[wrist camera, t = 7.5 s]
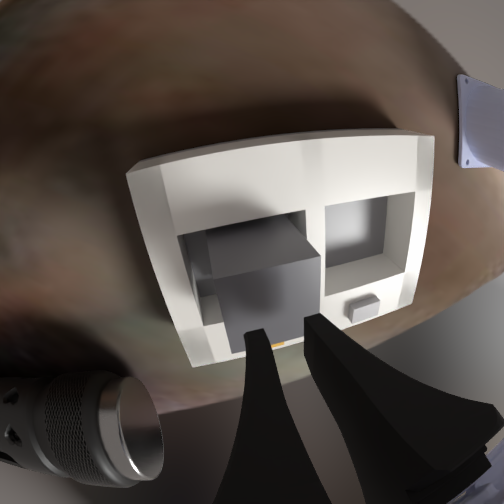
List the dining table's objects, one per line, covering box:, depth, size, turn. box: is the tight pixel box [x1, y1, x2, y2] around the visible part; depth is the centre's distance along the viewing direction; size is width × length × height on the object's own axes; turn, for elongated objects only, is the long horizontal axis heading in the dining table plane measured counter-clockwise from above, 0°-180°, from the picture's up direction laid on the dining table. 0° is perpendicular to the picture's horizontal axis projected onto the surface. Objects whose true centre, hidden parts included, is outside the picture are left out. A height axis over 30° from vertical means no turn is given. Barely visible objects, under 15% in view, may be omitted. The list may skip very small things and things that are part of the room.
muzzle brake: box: [0, 370, 164, 488], centre depth 15 cm, size 10×28×10 cm, turn 97°
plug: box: [205, 214, 321, 354], centre depth 14 cm, size 4×4×6 cm
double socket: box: [126, 128, 434, 367], centre depth 16 cm, size 16×12×4 cm
